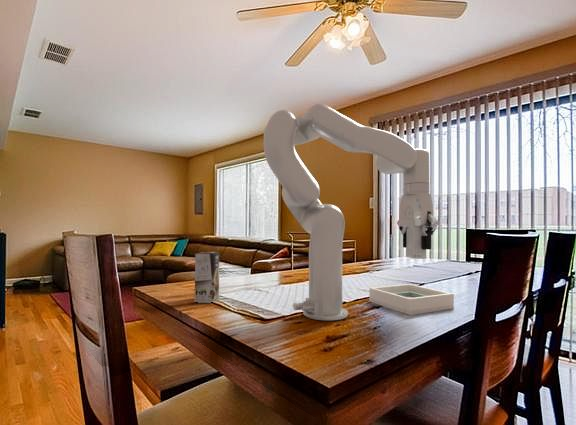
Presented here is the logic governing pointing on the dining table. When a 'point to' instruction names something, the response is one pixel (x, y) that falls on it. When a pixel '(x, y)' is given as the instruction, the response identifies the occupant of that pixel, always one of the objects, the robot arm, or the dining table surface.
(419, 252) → the skincare box
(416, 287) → the tray
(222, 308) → the dining table surface
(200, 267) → the coffee box
